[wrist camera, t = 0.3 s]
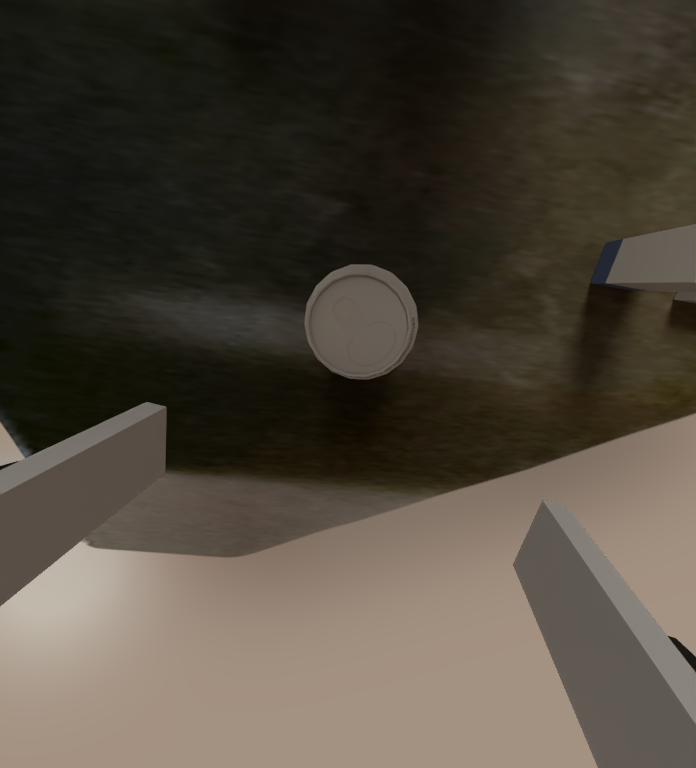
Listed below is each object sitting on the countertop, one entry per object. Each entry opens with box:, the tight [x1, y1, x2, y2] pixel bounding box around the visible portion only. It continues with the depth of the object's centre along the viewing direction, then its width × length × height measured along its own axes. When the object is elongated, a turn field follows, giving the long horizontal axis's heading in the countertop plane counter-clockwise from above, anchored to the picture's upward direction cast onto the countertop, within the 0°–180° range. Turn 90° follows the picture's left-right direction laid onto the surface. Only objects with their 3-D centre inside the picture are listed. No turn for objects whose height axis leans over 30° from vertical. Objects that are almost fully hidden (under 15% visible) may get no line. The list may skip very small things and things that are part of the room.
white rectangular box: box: [590, 224, 696, 292], centre depth 26 cm, size 4×4×12 cm
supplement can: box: [304, 265, 418, 379], centre depth 29 cm, size 8×8×15 cm
